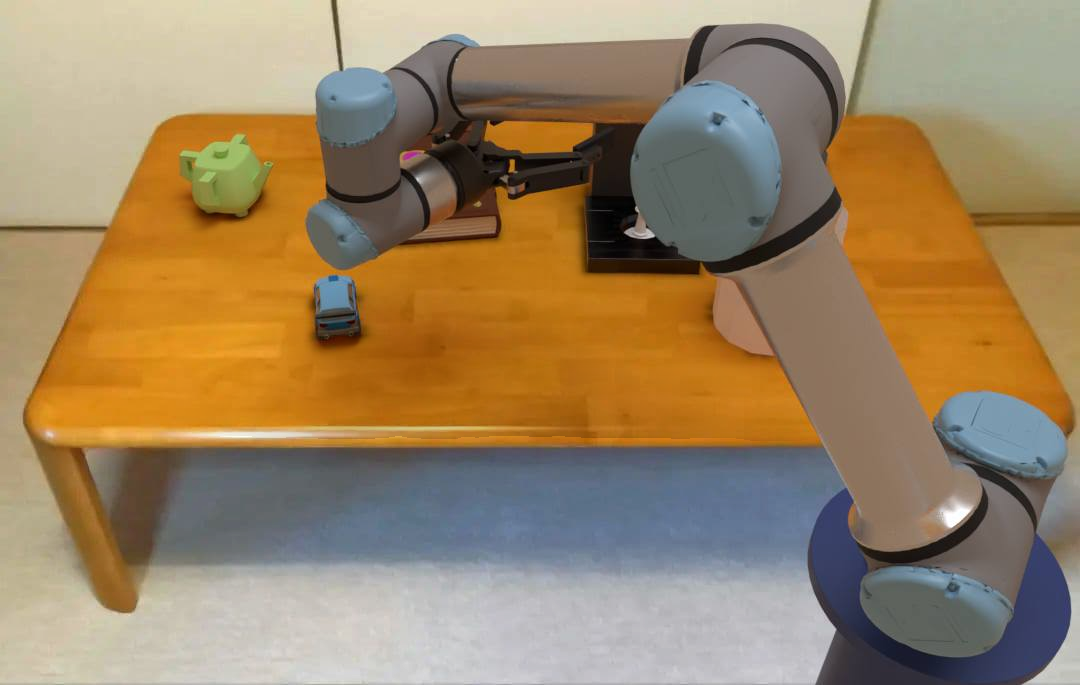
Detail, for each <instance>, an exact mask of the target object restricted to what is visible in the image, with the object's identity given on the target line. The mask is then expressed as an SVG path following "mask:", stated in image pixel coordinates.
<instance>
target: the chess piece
mask: <svg viewBox="0 0 1080 685" xmlns="http://www.w3.org/2000/svg"><path fill="white" fill-rule="evenodd" d="M635 210H636V211H637V212H638V218H637V222H636V226H635V227H633V228H630V229H628V230H626V231H624V233H625V234H627V235H628V236H630V237H634V238H638V239H647V238H651V237H655V235H654V234H653V233H652V231H651V230H649V229H647V228H646V223H645V222H644V220H643V218H642V216H641V214H640V212H639V210H638V208H637V206H636V207H635Z"/></svg>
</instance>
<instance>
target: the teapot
mask: <svg viewBox="0 0 1080 685" xmlns="http://www.w3.org/2000/svg"><path fill="white" fill-rule="evenodd" d="M178 159H179V160H178V161H179V176H180V177H181V178H184V179H185V180H186V181H188V182H189V183H191V195H192V199H193V201H194V202H193V203H195V205H196V206H197V207H199V208H200V209H201V210H203V211H204V212H205V213H207V214H214V213H221V214H233V215H235V216H236V217H238V218H241V217H246V216H247V215H248V214H249V211H248V210H249V209H250V208H252V206H253V205H254V204H255V203H256V202H257V200H259V198H260V197H261V194H262V191H263V188H264V187H265V186H266V183H267V181H268V179H269V176H270V173H271V172H272V169H273V167H274V165H275V163H274V162H271V161H267V160H266V161H264V163H263V165H262V164H261V162H260V160H259V159H258V157H257V155H256V154H255V152H254V150H253V149H252V147H251V146H250V145H249V142H248V138H247V136H246V134H242V133H236V134H235V135H234V136H233V137H232V138H231V140H230V141H214V142H211V143H209V144H208V145H207V146H205V148H204V149H203V150H201V151H193V150H186V149H183V150H182V151H181V152H180V153H179V158H178ZM192 163H194V164H192Z"/></svg>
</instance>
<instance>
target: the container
mask: <svg viewBox="0 0 1080 685" xmlns="http://www.w3.org/2000/svg"><path fill="white" fill-rule="evenodd" d="M849 214H850V213H849V211H848V210H847V209H846V207H845V206H844V205H843V208H842V211H841V214H840V216H839V218H838V221H837V223H836V226H835V233H836V235H837V237H838V239H839V241H840V243H841V245H842V246H843V243H844V239H845V237H846V236H845V235H846V232H847V228H848V227H847V226H848V222H849V221H848V220H849ZM712 318H713V327H714V328H715V329H716V330H717V331H718V332H719V333H720V335H721V336H722V337H723V338H724V339H725V340H726V342H728V343H729V344H732V345H734V346H736V347H738V348H740V349H741V350H744V351H746V352H748V353H749V354H755V355H756V354H757V355H763V356H770V357H775V355H774V354H773V352H772V350H771V348H770V346H769V345H768V343H767V341H766V339H765V337H764V335H763V334H762V332H761V330H760V328H759V326H758V324H757V323H756V321H755V319H754V317H753V315H752V313H751V312H750V310H749V308H748V306H747V304H746V302H745V301H744V299H743V297H742V295H741V293H740V291H739V290H738V288H737V286H736V284H735V282H734V281H732V280H729V279H725V278H720V277H717V281H716V287H715V292H714V299H713V303H712Z"/></svg>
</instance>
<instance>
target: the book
mask: <svg viewBox="0 0 1080 685" xmlns="http://www.w3.org/2000/svg"><path fill="white" fill-rule="evenodd" d="M446 123H447V122H445V123H443V124H442V125H441V126H439V127H438V128H436V129H435V130H433V131H432V132H430V133H429V134H428V135H426V136H425V137H423V138H422V139H420V140H419V141H418V142H416V143H415V144H413V145H412V146H411V147H409V148H408V149H406V150H405V151H403V152H402V153H401V154H400V163H402V162H404V161H405V160H407V159H409V158H411V157H413V156H415V155H417V154H422V153H424V152H425V151H427V150H429V149H431V148H432V142H431V135H432V134H434V133H436V132H437V131H439V130H441V129H442V128H443V127H444V126H445V124H446ZM472 125H473V122H472V123H471V124H470V126H469V127H468V128H467V130H466V131H465V132H464V134H463V135H462V137H461V138H460V139H459V141H458V142H467V141H468V138H469V134H470V130H472ZM497 200H498V194H497V189H496V187H495V188H491V189H488V190H487V191H486V193H485V194H484V195H483V197H482V198H481V199H480V200H479V201H478V202H477V203H475V204H473V205H472V206H470V207H468V208H466V209H464V210H462V211H460V212H459V213H456V214H453V215H452V216H450V217H448V218H446V219H445V220H443V221H441V222H439V223H437V224H435V225H433V226H431V227H430V228H428V229H426V230H425V231H423V232H421V233H419V234H417V235H415V236H413V237H411V238H409V239H407V240H406V241H404V242H402V243H400V244H399V245H401V244H413V243H428V242H439V241H441V242H442V241H452V240H466V239H467V240H468V239H476V238H477V239H478V238H479V239H481V238H492V237H498V236H499V234H500V233H501V231H502V219H501V215H500V210H499V206H498V202H497Z"/></svg>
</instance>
